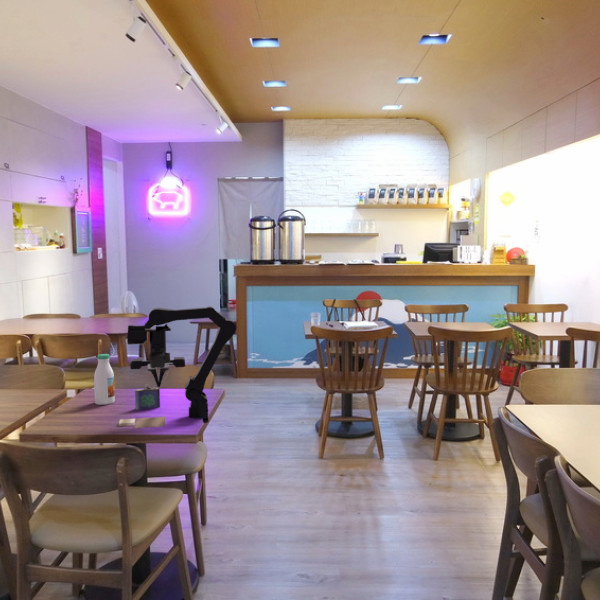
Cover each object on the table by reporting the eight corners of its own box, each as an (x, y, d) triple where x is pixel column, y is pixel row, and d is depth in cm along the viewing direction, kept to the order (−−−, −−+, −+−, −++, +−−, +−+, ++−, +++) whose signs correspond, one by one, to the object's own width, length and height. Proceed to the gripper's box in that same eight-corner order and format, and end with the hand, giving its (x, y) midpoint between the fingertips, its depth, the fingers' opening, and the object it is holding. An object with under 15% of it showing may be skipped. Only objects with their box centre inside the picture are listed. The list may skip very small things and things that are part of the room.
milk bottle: (102, 406, 224) (100, 356, 222) (91, 403, 228) (89, 354, 227) (118, 402, 230) (117, 354, 228) (107, 399, 235) (106, 352, 233)
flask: (135, 413, 213) (134, 386, 212) (135, 411, 215) (134, 384, 215) (160, 411, 215) (159, 384, 215) (159, 409, 218) (159, 382, 218)
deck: (165, 420, 203) (165, 416, 203) (164, 430, 191) (164, 426, 191) (137, 422, 201) (136, 418, 201) (134, 432, 189) (134, 428, 189)
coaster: (135, 424, 198) (135, 418, 197) (134, 428, 193) (133, 422, 193) (120, 425, 197) (120, 419, 196) (118, 429, 192) (118, 423, 192)
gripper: (128, 348, 189) (129, 393, 190) (184, 346, 193) (185, 390, 194) (131, 343, 200) (132, 386, 201) (184, 341, 204) (185, 383, 205)
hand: (158, 386), depth 200 cm, fingers closed
